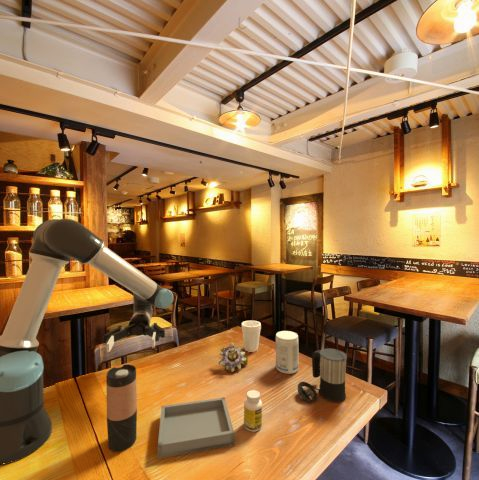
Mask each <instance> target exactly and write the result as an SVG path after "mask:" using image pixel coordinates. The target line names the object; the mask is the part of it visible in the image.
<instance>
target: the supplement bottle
mask: <svg viewBox="0 0 479 480" xmlns="http://www.w3.org/2000/svg"><path fill="white" fill-rule="evenodd" d="M243 403H244V404H243V405H244V406H243V408H244V409H243V426H244V428H245V430H247V431H250V432H251V433H255V432H258V431H259V430H261V429H262V426H263V401H262V400H261V394H260V392H259V391H258V390H255V389H252V390H248V391H247V393H246V398H245V400H244V402H243Z"/></svg>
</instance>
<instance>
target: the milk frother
mask: <svg viewBox="0 0 479 480" xmlns="http://www.w3.org/2000/svg"><path fill="white" fill-rule="evenodd" d="M347 358H348V355H347V354H346V353H345V352H344V351H342V350H339V349H336V348H328V347H326V348H323V349H317V350H315V351H314V352H312V354H311V367H312V368H311V370H312V377H313V378H315V379H316V378H319V380H320V381H319V388H317V387H316V386H313V385H312V384H311V383H308V382H306V381H299V383H298V384H297V392H298V395H299V397H301V398H302V400H304V401H306V402H310V403H311V402H315V401H317V398H318V395H320V396H321V397H322V398H323V399H325V400H327V401H330V402H334V403H338V402H343V401H345V400H346V398H347V395H346V394H347V393H346V372H347V370H346V369H347ZM304 387H306V388H308V389H310V390H311V392H312V394H313V397H312V396H311V392H309V391H308V390H307V389H306V388H304ZM317 391H318V392H317Z"/></svg>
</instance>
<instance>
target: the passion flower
mask: <svg viewBox="0 0 479 480" xmlns="http://www.w3.org/2000/svg"><path fill="white" fill-rule="evenodd" d="M242 348H243V346H242V345H239V346H237V347H235V345H234V343H233V342H230V344H229V346H227V347H224V346H223V347H222V348H220V351H221V352H220V353H219V355H221V356H222V359H221V360H220V361H218V365H220V366H221V365H224V364H225V369H226V371H227V370H230V372H231V373H233V372H235V368H236V367H237V369H239V370H240V369H241V368H242V365H241V364H242V362H243V363H244V365H245V366H246V365H248V358H247V356H246V355H245V354H246V351H243V350H242Z"/></svg>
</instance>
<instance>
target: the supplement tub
mask: <svg viewBox="0 0 479 480" xmlns="http://www.w3.org/2000/svg"><path fill="white" fill-rule="evenodd" d="M299 350H300V349H299V335H298V333H297V332H294V331H290V330H281V331H277V332H276V334H275V368H276V370H277V371H278V372H280V373H282V374H285V375H291V374H295V373H297V372H298V371H299V367H300V365H299V360H300V359H299V356H300V355H299V353H300V352H299Z"/></svg>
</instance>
